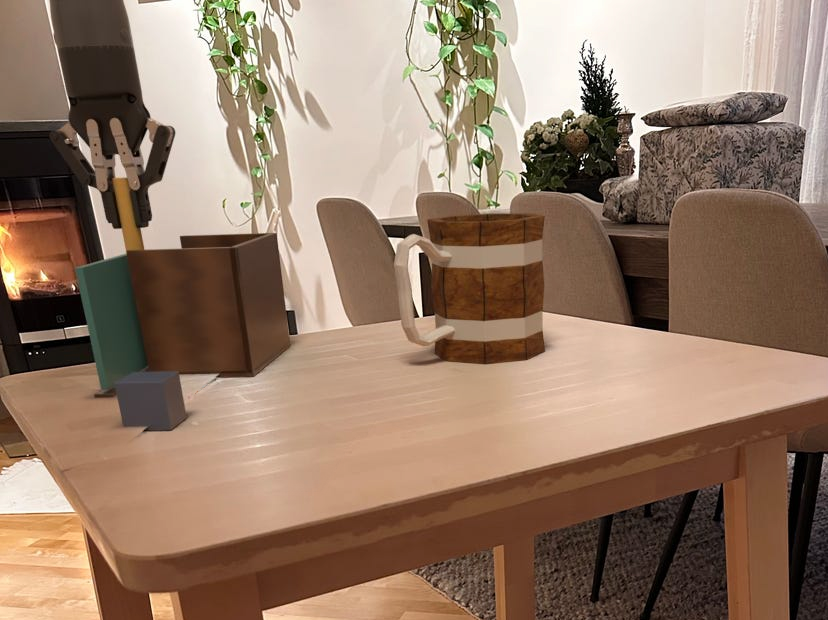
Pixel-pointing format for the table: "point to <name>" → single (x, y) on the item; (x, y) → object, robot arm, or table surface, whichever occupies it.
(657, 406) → the table surface
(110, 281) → the sliding door
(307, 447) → the table surface
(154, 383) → the block
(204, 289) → the cubby
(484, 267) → the mug
